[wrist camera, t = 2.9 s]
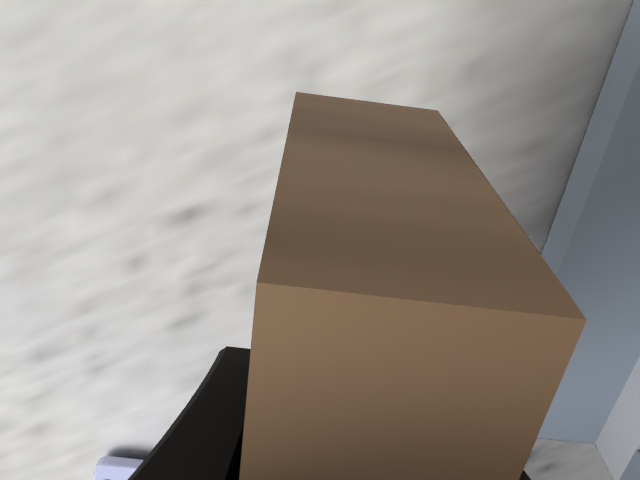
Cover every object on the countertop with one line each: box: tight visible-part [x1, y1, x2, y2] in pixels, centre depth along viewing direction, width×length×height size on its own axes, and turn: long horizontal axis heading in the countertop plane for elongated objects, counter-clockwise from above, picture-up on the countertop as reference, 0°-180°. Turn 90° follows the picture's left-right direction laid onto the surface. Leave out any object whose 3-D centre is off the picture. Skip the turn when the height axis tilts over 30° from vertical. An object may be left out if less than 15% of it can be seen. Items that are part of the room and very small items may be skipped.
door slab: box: [239, 92, 587, 480], centre depth 9 cm, size 9×2×6 cm, turn 173°
